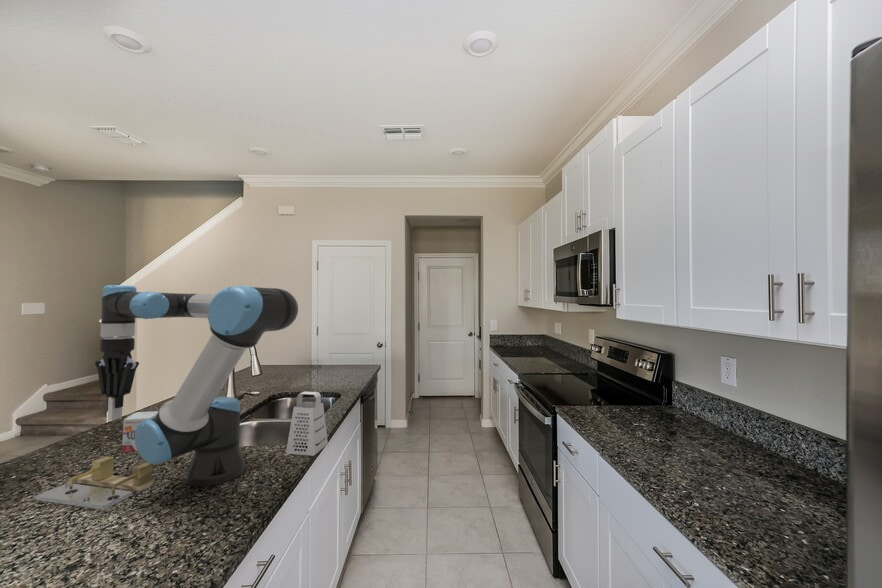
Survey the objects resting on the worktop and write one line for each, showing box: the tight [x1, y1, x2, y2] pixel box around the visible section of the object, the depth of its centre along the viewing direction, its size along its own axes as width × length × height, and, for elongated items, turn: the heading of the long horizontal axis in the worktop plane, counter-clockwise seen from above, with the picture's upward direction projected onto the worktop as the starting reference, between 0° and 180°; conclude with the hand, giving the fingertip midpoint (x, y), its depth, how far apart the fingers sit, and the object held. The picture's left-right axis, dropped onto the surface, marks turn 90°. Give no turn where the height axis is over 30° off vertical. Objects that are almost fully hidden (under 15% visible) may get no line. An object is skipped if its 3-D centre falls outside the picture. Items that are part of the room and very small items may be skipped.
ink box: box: [121, 410, 159, 454], centre depth 129 cm, size 9×9×12 cm
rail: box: [76, 461, 154, 495], centre depth 100 cm, size 22×10×6 cm, turn 79°
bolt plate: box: [35, 482, 133, 511], centre depth 96 cm, size 22×7×1 cm, turn 79°
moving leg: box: [68, 455, 115, 489], centre depth 101 cm, size 3×10×5 cm, turn 169°
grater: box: [285, 391, 329, 457], centre depth 130 cm, size 10×10×20 cm
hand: (114, 418), depth 105 cm, fingers closed
